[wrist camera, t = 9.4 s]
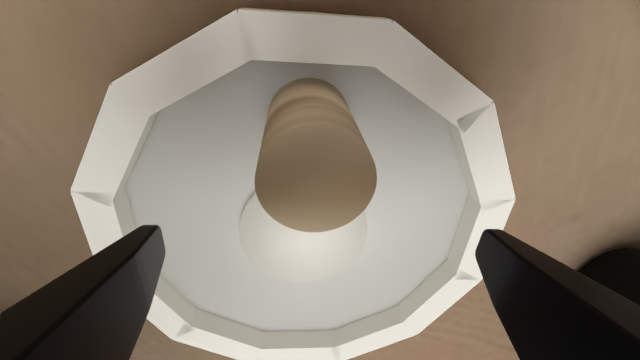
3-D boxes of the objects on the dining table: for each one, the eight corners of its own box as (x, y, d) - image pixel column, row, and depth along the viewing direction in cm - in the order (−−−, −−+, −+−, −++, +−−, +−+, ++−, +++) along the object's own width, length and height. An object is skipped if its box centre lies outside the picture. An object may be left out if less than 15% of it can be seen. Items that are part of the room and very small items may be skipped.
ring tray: (436, 332, 30) (447, 359, 28) (146, 338, 27) (133, 368, 25) (549, 27, 17) (586, 33, 15) (41, -8, 15) (-2, -8, 13)
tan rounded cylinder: (344, 156, 19) (368, 232, 13) (268, 154, 19) (256, 232, 13) (353, 79, 17) (386, 128, 11) (267, 75, 17) (252, 123, 11)
